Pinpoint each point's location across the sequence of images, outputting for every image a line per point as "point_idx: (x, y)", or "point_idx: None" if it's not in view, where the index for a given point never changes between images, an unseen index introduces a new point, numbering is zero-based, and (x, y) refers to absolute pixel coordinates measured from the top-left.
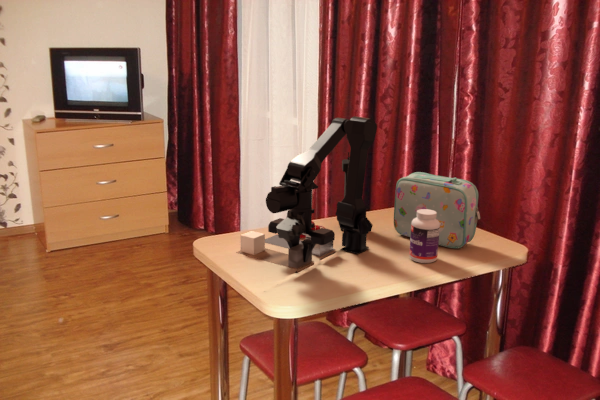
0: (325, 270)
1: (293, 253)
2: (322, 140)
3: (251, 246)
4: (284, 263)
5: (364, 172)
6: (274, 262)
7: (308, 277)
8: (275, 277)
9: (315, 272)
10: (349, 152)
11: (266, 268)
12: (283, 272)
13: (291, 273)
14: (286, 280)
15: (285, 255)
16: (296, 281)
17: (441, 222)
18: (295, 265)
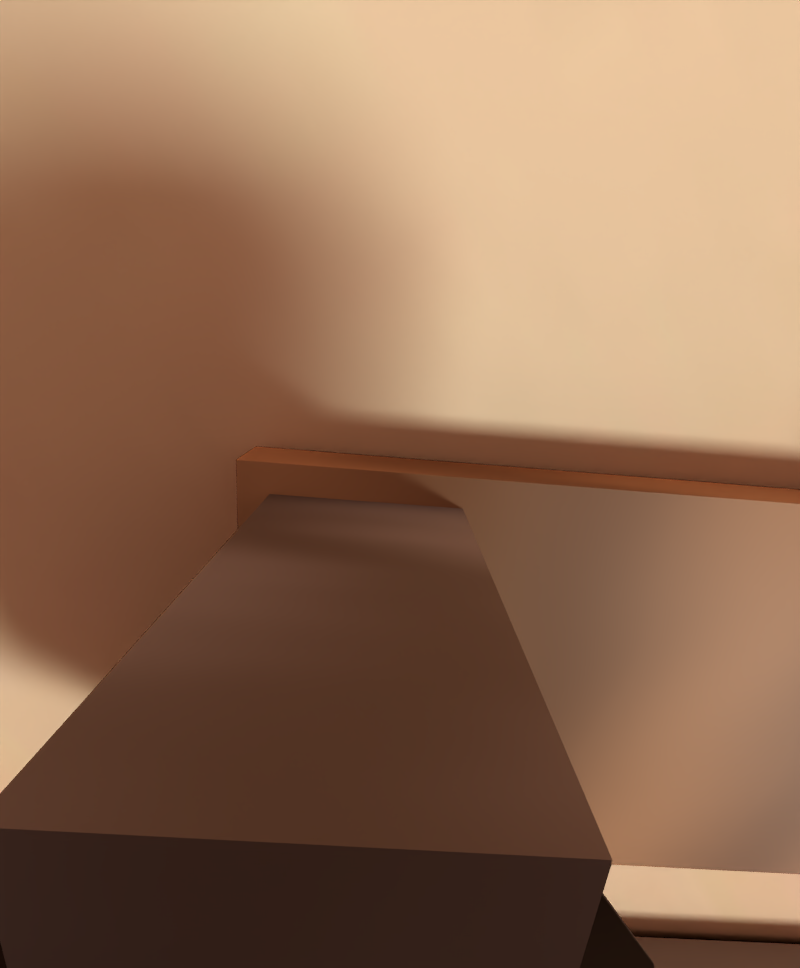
0: (39, 727)
1: (299, 695)
2: None
3: None
4: (580, 577)
5: None
6: (757, 527)
7: (28, 401)
8: (474, 57)
9: (87, 613)
10: None
11: (795, 359)
12: (469, 363)
13: (338, 398)
14: (220, 42)
15: (704, 824)
16: (49, 115)
17: None
18: (298, 516)
